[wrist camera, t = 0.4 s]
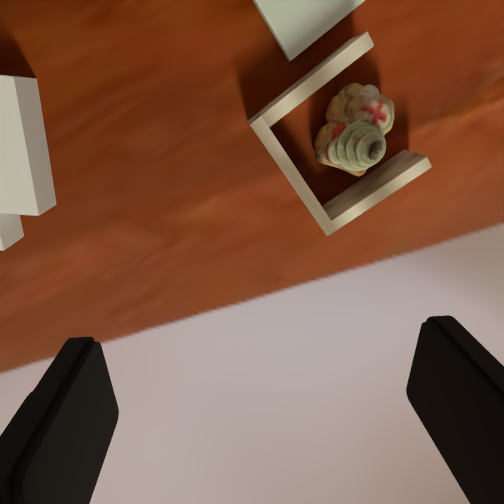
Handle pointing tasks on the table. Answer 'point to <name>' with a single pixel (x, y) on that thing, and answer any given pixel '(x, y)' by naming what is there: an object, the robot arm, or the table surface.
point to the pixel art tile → (22, 157)
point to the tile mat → (302, 20)
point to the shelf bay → (365, 189)
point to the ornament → (355, 129)
